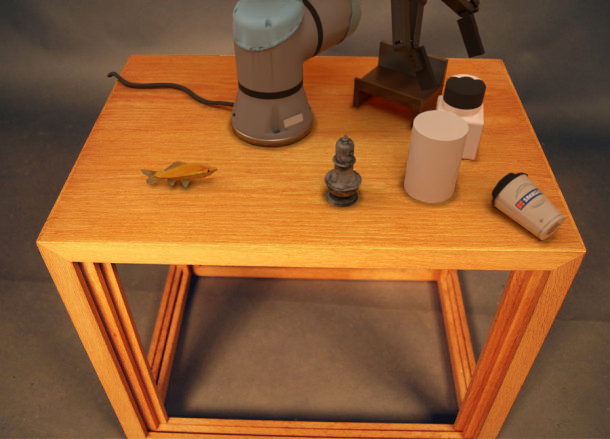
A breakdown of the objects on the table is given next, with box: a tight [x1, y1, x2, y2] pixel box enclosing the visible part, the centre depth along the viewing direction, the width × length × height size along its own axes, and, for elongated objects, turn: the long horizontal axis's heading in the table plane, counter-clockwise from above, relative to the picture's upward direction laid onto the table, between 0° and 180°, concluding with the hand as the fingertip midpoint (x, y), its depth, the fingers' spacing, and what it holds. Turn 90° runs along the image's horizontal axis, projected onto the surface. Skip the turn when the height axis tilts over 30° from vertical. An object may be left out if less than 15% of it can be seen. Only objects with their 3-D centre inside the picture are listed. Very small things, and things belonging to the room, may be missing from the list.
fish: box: [140, 160, 218, 189], centre depth 91 cm, size 12×2×5 cm, turn 88°
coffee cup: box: [491, 171, 566, 241], centre depth 85 cm, size 7×7×10 cm
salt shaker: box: [323, 133, 363, 208], centre depth 87 cm, size 6×6×12 cm
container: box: [436, 73, 487, 161], centre depth 97 cm, size 8×8×13 cm
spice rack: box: [352, 39, 449, 129], centre depth 107 cm, size 14×10×10 cm
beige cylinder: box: [403, 110, 469, 204], centre depth 89 cm, size 8×8×12 cm
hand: (454, 71), depth 90 cm, fingers open, 13 cm apart
